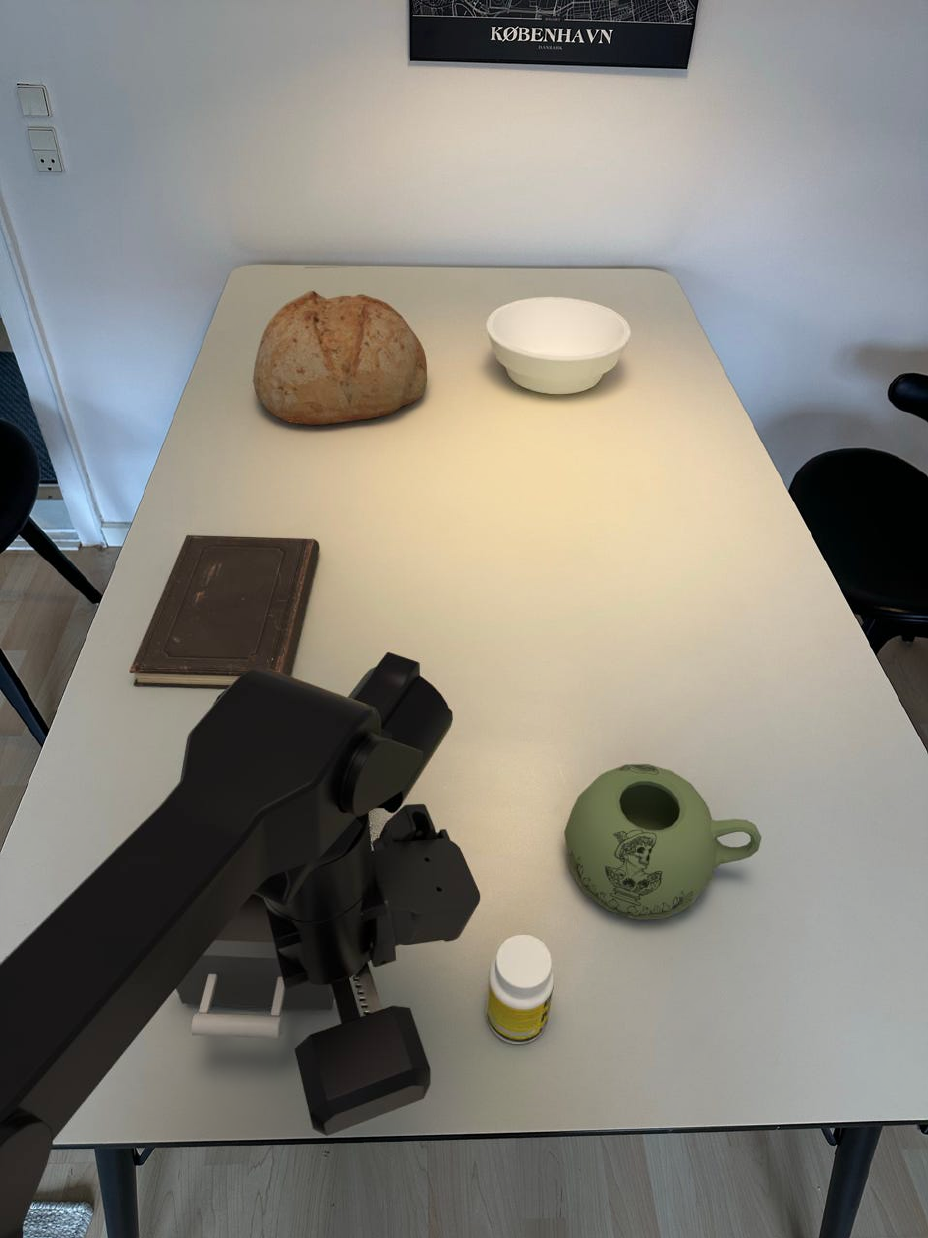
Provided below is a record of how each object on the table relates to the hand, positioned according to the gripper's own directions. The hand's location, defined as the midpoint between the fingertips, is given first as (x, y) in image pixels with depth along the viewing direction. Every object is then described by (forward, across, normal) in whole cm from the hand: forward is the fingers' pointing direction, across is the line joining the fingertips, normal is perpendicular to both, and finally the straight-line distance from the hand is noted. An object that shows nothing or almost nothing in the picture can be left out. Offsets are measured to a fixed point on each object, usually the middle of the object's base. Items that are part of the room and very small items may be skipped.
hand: (338, 1011), depth 56 cm
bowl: (+11, +94, -60) cm, 112 cm away
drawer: (+11, +12, +3) cm, 17 cm away
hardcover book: (+12, +54, -1) cm, 55 cm away
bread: (+11, +99, -26) cm, 103 cm away
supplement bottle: (+12, +1, -13) cm, 18 cm away
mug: (+12, +9, -30) cm, 33 cm away
